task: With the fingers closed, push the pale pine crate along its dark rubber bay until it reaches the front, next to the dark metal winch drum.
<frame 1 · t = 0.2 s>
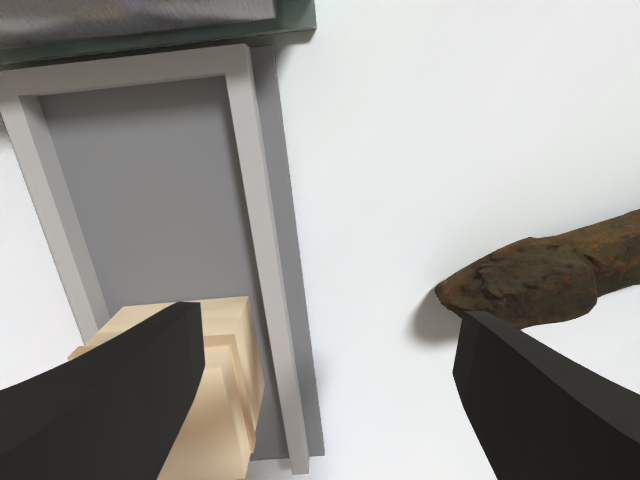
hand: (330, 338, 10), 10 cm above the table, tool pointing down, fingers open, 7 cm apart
crate bay: (199, 342, 22), on the table
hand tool: (606, 240, 20), on the table
pine crate: (177, 383, 19), point 3 cm above the table, slide at 0.0 cm
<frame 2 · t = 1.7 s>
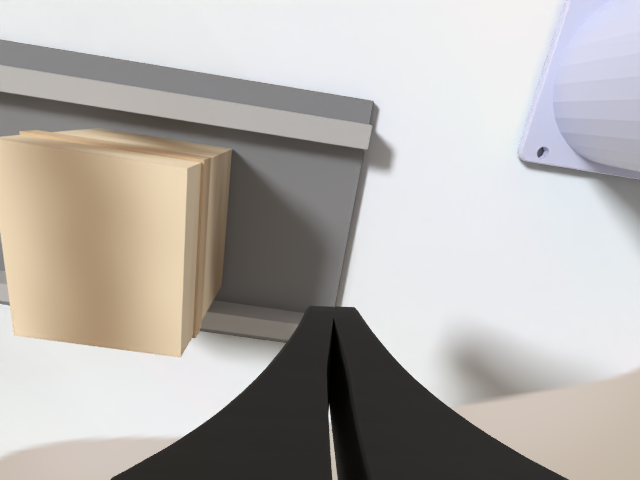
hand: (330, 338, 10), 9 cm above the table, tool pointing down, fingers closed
crate bay: (168, 209, 19), on the table
pine crate: (135, 231, 15), point 3 cm above the table, slide at 0.0 cm
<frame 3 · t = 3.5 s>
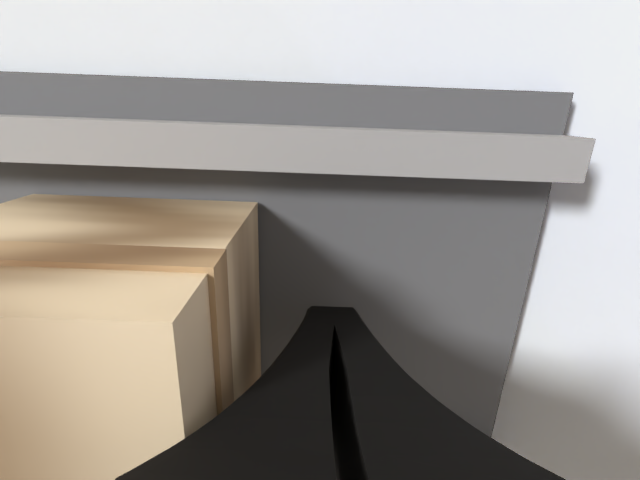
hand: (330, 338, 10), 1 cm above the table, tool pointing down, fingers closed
crate bay: (222, 306, 12), on the table
pine crate: (103, 382, 8), point 3 cm above the table, slide at 1.8 cm, touching gripper
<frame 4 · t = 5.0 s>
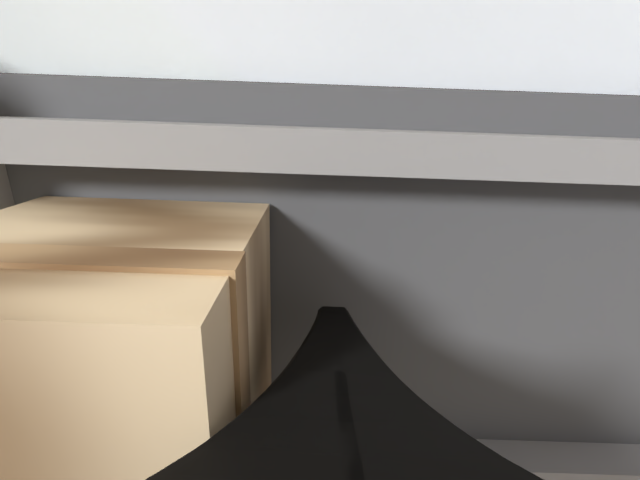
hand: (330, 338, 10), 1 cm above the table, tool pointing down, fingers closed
crate bay: (500, 317, 12), on the table
pine crate: (118, 385, 8), point 3 cm above the table, slide at 10.1 cm, touching gripper
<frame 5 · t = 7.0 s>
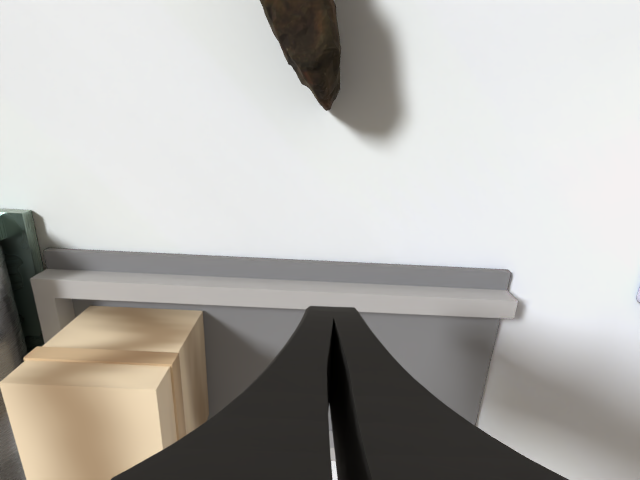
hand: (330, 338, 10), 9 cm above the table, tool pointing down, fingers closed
crate bay: (329, 365, 22), on the table
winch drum: (17, 351, 22), on the table
pine crate: (126, 401, 18), point 3 cm above the table, slide at 10.0 cm
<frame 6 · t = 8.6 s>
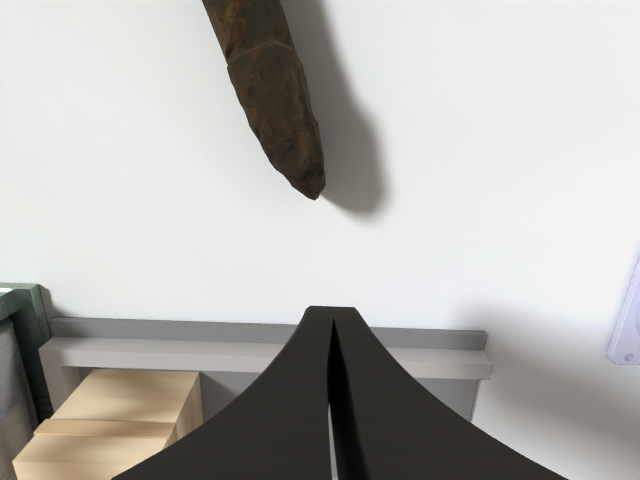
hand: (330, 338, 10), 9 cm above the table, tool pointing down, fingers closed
crate bay: (319, 417, 23), on the table
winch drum: (26, 408, 23), on the table
pine crate: (129, 462, 20), point 3 cm above the table, slide at 10.0 cm
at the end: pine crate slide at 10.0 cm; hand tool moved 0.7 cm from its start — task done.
